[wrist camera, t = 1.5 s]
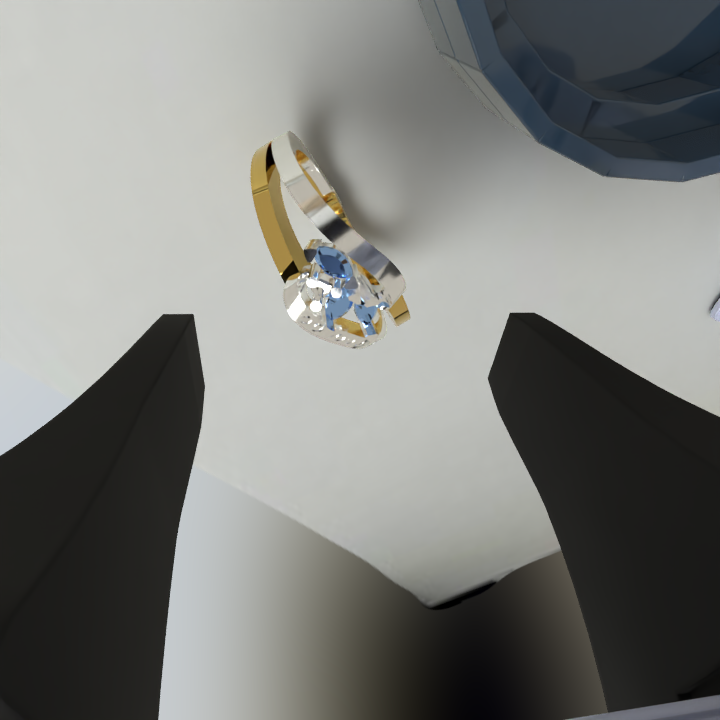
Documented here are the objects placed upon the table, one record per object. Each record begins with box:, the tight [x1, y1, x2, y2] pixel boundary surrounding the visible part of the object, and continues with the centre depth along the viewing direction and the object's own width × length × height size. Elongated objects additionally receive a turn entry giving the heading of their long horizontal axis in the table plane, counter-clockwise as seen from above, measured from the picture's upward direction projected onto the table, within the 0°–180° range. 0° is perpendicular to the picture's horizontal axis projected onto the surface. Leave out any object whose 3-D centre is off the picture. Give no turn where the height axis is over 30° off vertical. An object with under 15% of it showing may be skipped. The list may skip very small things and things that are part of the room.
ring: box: [251, 131, 410, 349], centre depth 15 cm, size 7×3×8 cm, turn 26°
